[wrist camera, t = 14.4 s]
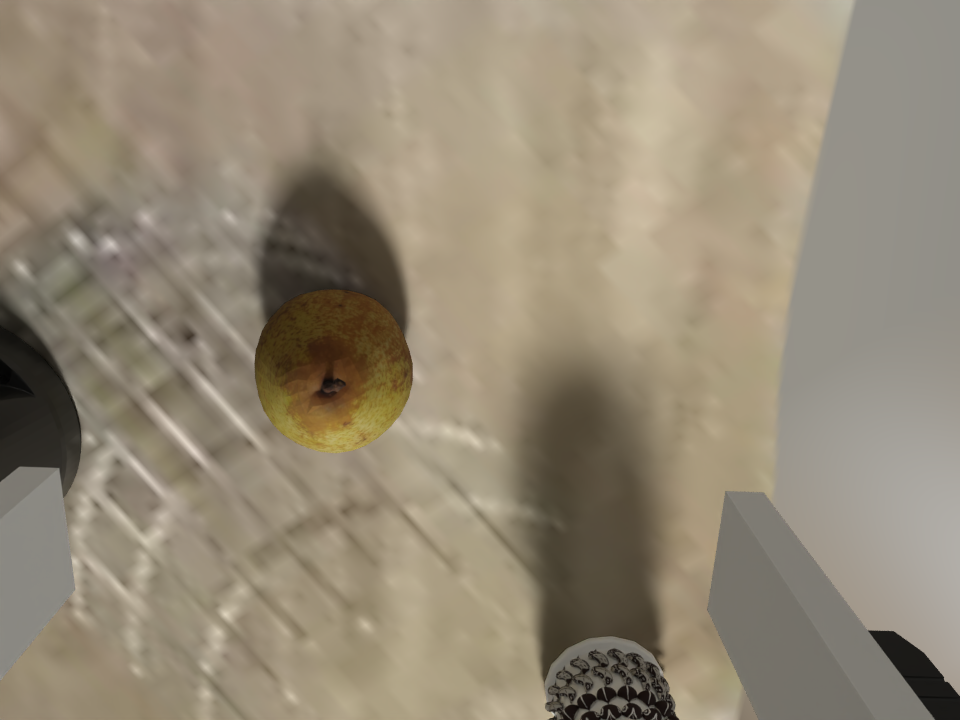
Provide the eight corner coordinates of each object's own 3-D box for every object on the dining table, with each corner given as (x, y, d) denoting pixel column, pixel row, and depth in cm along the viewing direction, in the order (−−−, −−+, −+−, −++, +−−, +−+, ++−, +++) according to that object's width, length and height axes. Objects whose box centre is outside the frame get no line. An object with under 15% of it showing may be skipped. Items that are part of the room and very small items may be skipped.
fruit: (297, 432, 49) (244, 530, 38) (254, 294, 46) (182, 354, 35) (432, 404, 49) (419, 495, 37) (395, 262, 46) (370, 314, 35)
